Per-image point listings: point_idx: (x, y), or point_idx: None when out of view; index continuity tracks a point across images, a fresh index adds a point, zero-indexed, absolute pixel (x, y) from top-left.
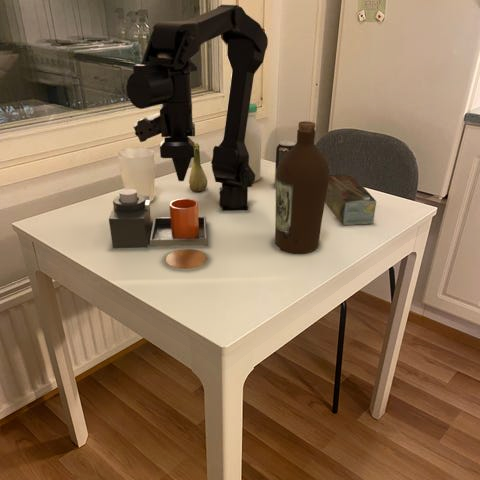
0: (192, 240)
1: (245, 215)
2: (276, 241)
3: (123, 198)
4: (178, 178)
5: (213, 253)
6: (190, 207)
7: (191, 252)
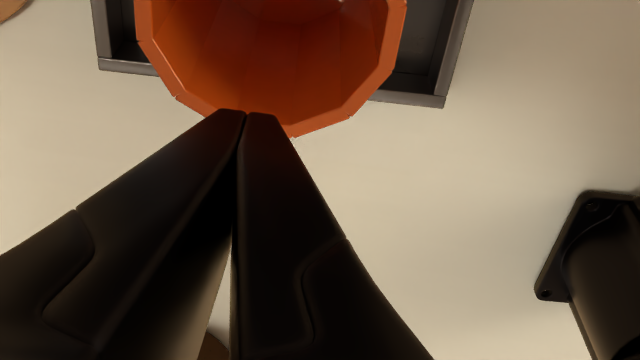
0: None
1: (492, 272)
2: None
3: None
4: (204, 125)
5: (38, 68)
6: (354, 56)
7: None
